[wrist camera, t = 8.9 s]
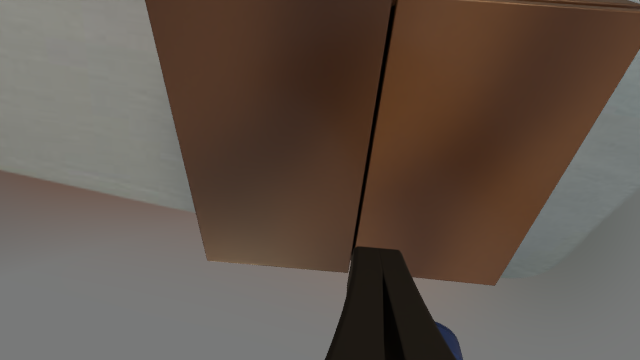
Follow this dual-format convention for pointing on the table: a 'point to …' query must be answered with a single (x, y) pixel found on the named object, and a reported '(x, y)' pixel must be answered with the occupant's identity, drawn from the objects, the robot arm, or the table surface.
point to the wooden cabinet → (278, 119)
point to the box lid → (483, 125)
